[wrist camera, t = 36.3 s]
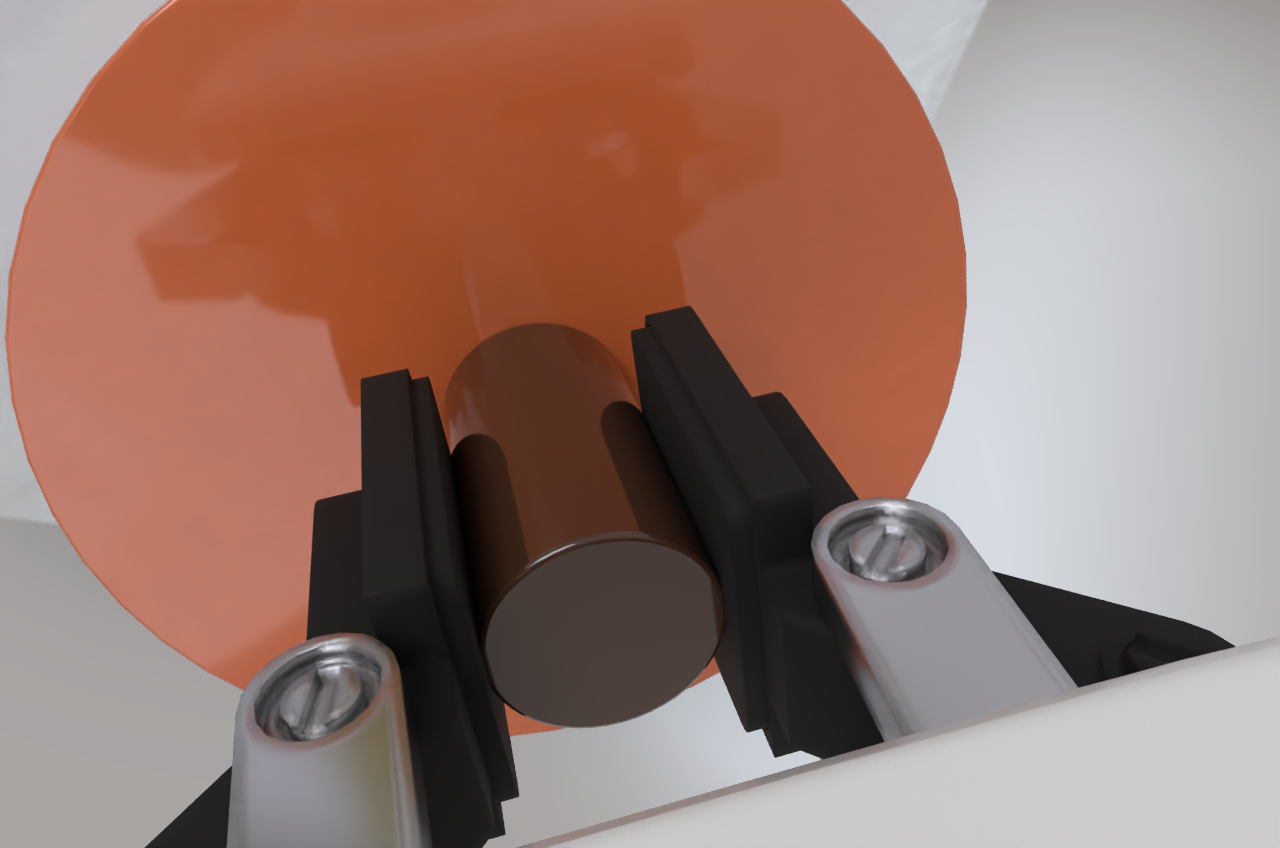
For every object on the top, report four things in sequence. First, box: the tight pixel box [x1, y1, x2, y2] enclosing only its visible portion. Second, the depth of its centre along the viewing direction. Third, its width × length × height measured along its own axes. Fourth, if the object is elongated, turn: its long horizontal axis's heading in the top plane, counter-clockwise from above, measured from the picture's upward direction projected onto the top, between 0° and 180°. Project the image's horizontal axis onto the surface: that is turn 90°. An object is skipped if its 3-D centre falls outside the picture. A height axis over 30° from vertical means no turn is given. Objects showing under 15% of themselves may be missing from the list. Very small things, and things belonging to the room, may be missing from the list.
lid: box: [5, 0, 967, 736], centre depth 12 cm, size 12×12×6 cm
